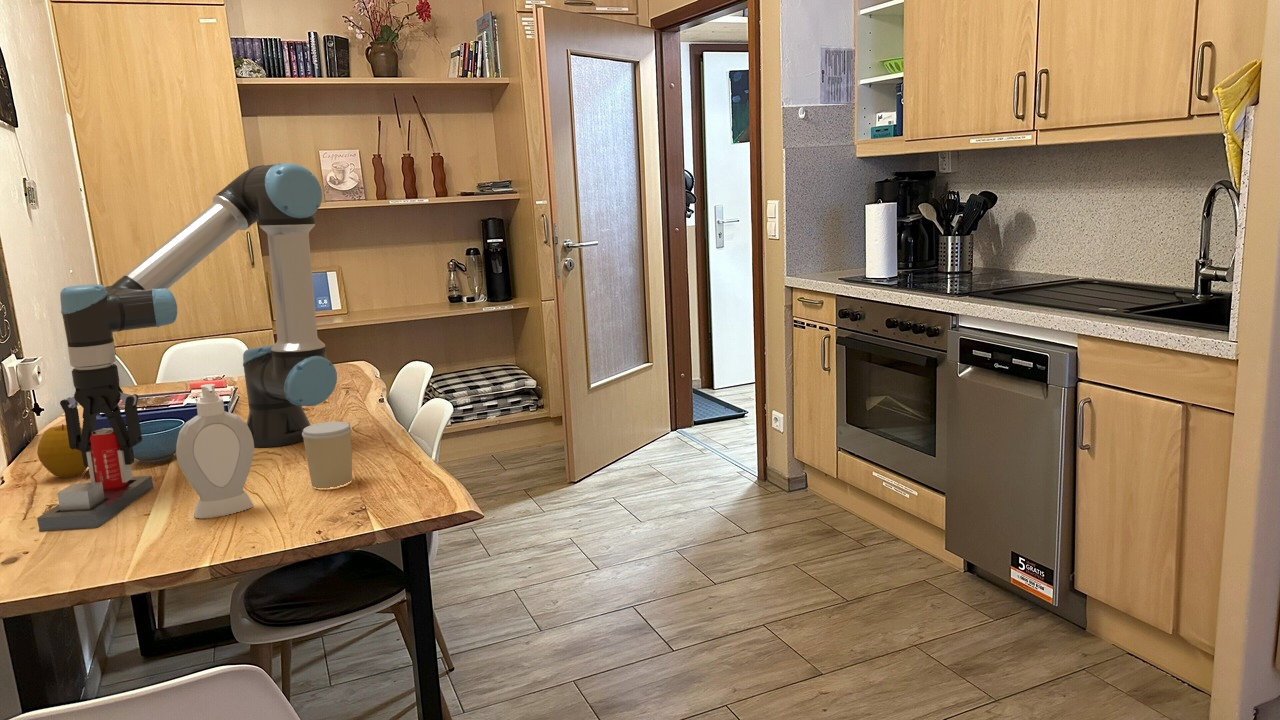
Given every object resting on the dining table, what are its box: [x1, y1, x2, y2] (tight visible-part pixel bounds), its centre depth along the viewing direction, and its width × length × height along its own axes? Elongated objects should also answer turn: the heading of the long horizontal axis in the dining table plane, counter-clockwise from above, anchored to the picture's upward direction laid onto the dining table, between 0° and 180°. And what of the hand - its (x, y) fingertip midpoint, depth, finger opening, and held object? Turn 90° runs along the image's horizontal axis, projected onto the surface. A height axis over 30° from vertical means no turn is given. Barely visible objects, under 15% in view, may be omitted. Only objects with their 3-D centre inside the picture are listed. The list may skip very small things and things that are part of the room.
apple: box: [36, 423, 88, 479], centre depth 186 cm, size 10×10×12 cm
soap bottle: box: [175, 383, 255, 520], centre depth 159 cm, size 13×8×24 cm, turn 122°
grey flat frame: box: [36, 475, 154, 532], centre depth 166 cm, size 10×22×6 cm, turn 5°
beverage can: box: [90, 427, 128, 491], centre depth 171 cm, size 5×5×12 cm
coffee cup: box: [302, 421, 353, 488], centre depth 175 cm, size 9×9×12 cm
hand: (112, 480), depth 172 cm, fingers closed on beverage can, 5 cm apart
